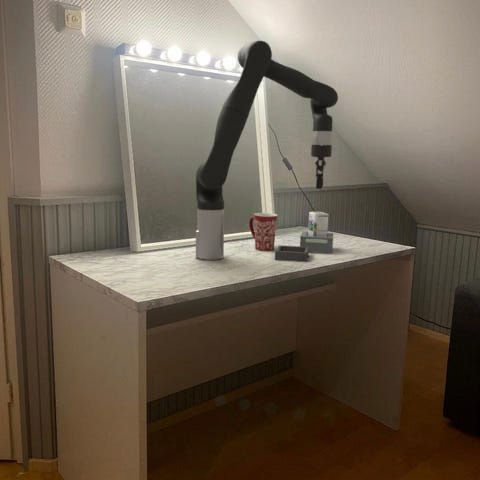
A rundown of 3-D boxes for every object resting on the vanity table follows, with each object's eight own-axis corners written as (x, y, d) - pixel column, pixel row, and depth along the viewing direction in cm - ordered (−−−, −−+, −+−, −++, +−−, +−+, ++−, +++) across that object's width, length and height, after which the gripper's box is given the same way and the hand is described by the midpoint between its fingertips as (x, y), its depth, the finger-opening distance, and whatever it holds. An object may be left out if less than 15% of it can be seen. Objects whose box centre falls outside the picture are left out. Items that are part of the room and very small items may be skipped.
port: (299, 252, 185) (300, 236, 184) (302, 246, 197) (302, 231, 196) (332, 254, 183) (333, 238, 182) (332, 247, 195) (333, 232, 194)
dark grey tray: (274, 259, 172) (275, 251, 171) (278, 253, 182) (278, 245, 182) (306, 261, 170) (306, 253, 169) (308, 255, 180) (308, 247, 180)
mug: (281, 249, 190) (282, 214, 187) (264, 252, 184) (265, 216, 181) (258, 244, 199) (259, 211, 196) (242, 247, 193) (242, 212, 190)
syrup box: (306, 248, 192) (308, 211, 189) (320, 247, 194) (321, 211, 191) (313, 251, 187) (315, 213, 184) (327, 250, 189) (329, 213, 186)
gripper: (312, 144, 190) (310, 186, 193) (310, 143, 177) (308, 188, 180) (332, 144, 189) (329, 186, 192) (331, 143, 175) (329, 189, 178)
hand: (319, 187), depth 186 cm, fingers open, 8 cm apart
